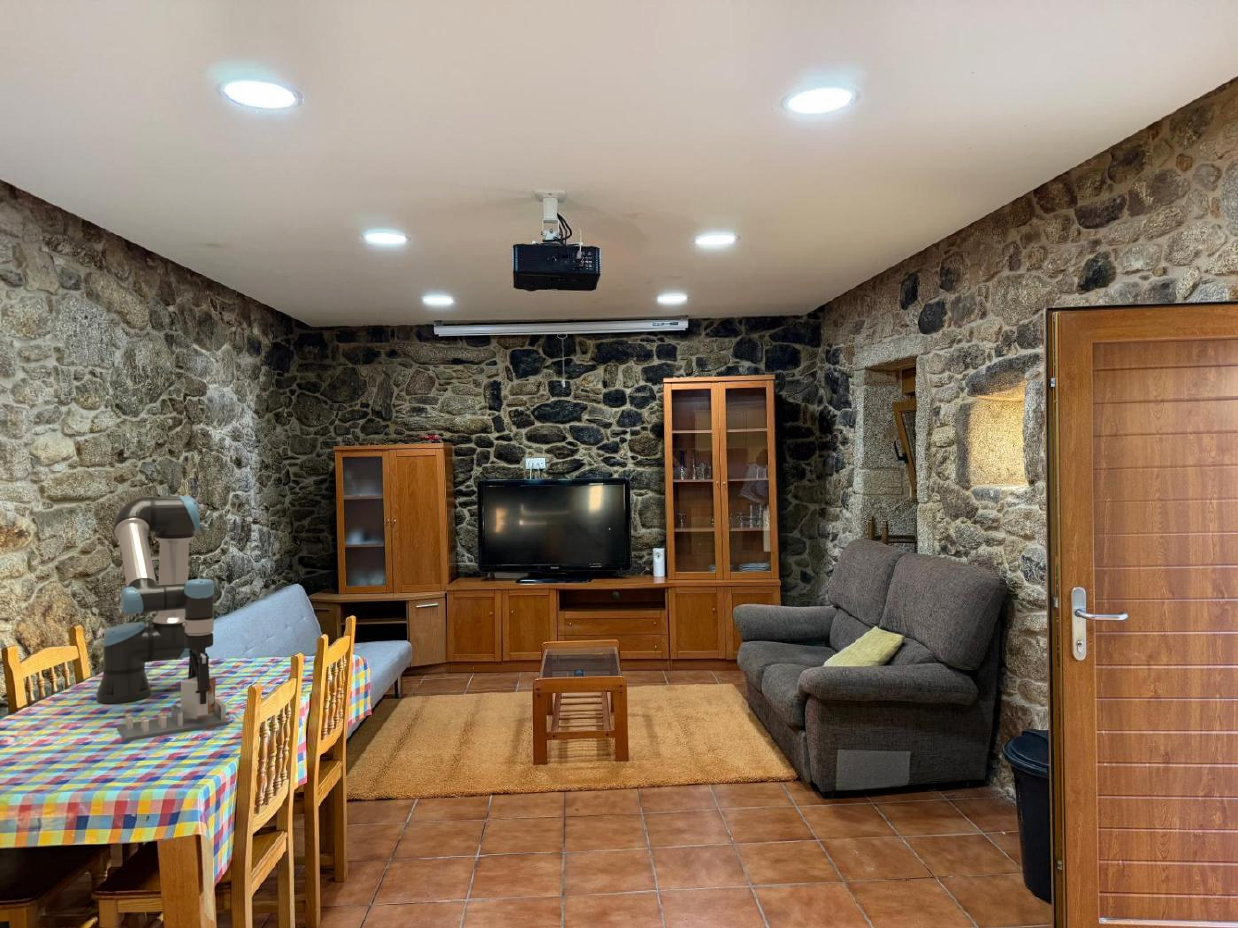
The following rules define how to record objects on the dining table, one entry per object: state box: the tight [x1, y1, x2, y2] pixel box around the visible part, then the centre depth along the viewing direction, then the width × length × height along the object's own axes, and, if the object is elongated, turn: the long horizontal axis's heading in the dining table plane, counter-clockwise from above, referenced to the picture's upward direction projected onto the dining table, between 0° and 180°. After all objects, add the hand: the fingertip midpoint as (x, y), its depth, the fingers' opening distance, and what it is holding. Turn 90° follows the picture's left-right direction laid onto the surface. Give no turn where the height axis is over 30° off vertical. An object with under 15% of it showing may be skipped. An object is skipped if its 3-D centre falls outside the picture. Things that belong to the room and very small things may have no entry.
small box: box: [180, 675, 216, 719], centre depth 248 cm, size 8×6×10 cm
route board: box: [116, 712, 229, 742], centre depth 245 cm, size 15×26×4 cm, turn 127°
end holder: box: [170, 698, 227, 727], centre depth 248 cm, size 10×12×4 cm
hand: (198, 710), depth 248 cm, fingers closed on small box, 9 cm apart
